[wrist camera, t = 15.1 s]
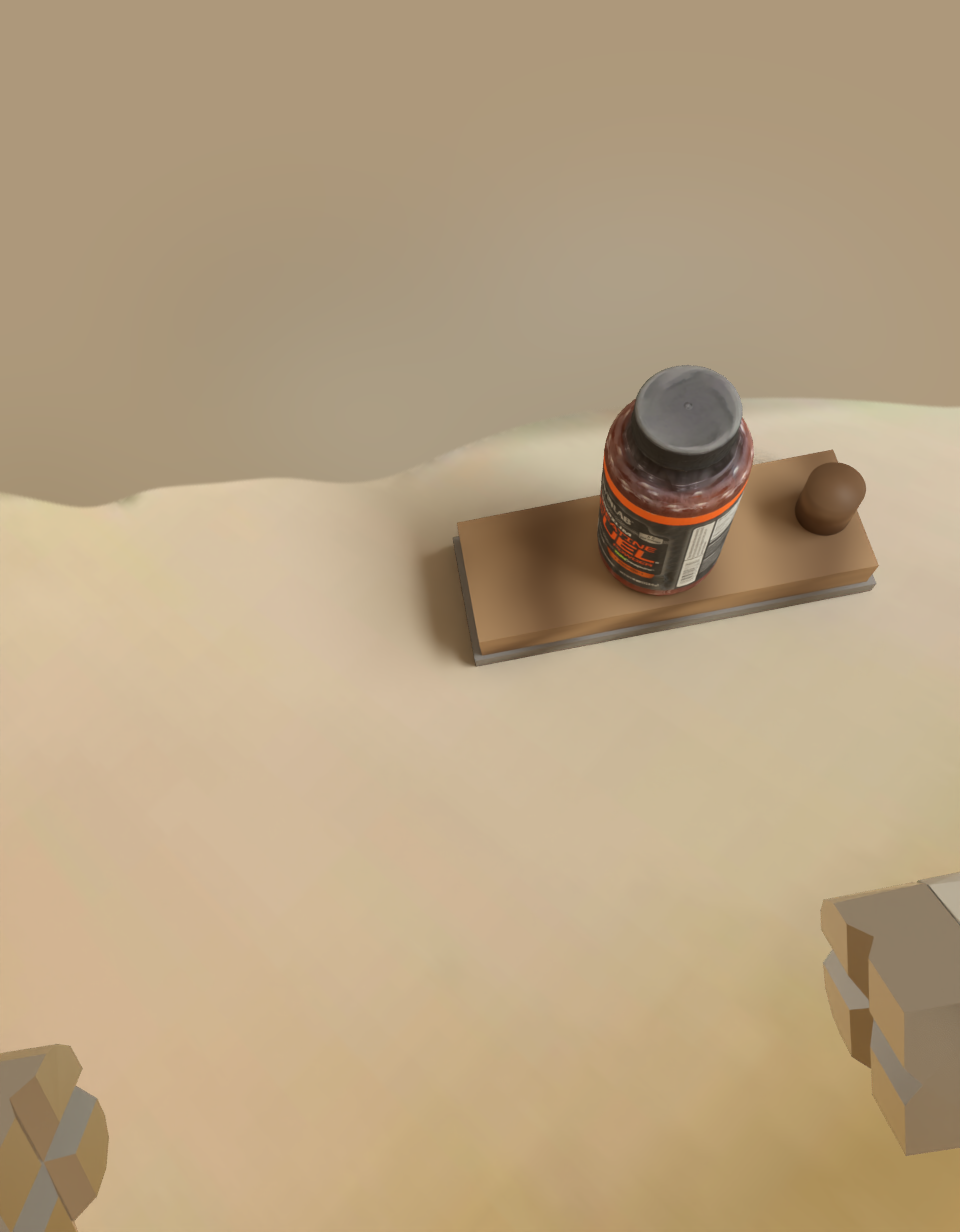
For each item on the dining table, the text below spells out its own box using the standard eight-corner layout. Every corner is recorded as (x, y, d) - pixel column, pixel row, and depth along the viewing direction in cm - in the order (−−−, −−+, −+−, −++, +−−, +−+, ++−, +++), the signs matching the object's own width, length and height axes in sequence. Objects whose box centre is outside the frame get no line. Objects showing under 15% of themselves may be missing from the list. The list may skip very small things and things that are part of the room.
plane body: (476, 666, 44) (466, 629, 40) (454, 544, 47) (442, 496, 43) (870, 590, 44) (906, 543, 40) (825, 472, 47) (853, 416, 42)
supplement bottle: (570, 549, 44) (572, 411, 33) (650, 471, 45) (675, 314, 35) (665, 625, 42) (699, 504, 31) (745, 540, 43) (804, 397, 33)
